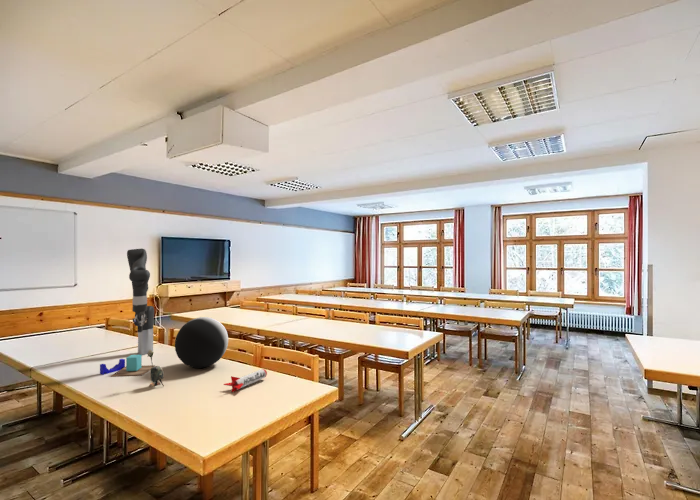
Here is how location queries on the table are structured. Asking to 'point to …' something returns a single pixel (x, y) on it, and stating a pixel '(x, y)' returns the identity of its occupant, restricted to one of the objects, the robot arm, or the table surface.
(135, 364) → the aqua box
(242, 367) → the table surface
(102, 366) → the cable clip
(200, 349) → the black ball
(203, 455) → the table surface
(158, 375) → the plant with pod
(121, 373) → the walnut board
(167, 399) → the table surface
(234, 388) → the model rocket
